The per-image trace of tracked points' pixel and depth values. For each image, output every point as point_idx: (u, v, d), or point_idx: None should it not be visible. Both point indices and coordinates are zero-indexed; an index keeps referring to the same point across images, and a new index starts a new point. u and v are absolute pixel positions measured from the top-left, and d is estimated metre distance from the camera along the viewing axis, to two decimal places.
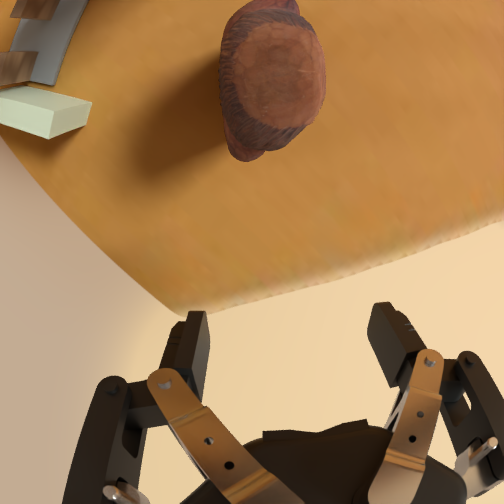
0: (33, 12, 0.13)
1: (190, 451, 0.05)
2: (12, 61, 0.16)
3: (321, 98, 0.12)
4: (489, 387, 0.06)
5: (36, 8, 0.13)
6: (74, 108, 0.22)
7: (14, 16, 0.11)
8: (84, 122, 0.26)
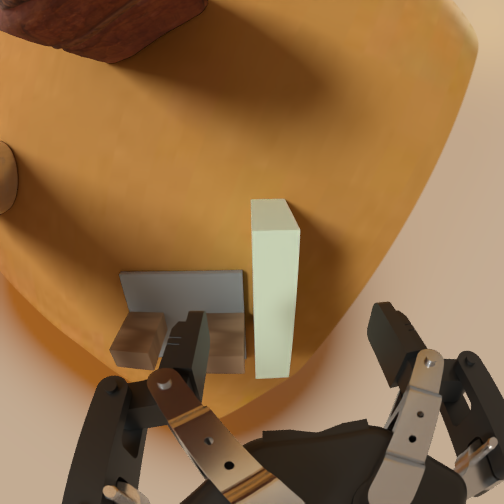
0: (146, 338, 0.25)
1: (190, 451, 0.05)
2: (211, 344, 0.24)
3: None
4: (489, 387, 0.06)
5: (141, 336, 0.25)
6: (255, 212, 0.21)
7: (151, 363, 0.24)
8: (280, 200, 0.24)
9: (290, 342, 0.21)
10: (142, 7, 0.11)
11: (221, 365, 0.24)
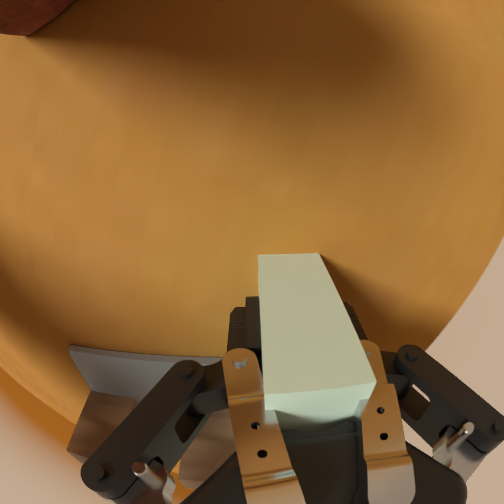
0: None
1: (233, 429, 0.06)
2: (199, 461, 0.14)
3: None
4: (443, 375, 0.07)
5: (105, 436, 0.14)
6: (268, 303, 0.10)
7: None
8: (312, 259, 0.13)
9: None
10: None
11: None
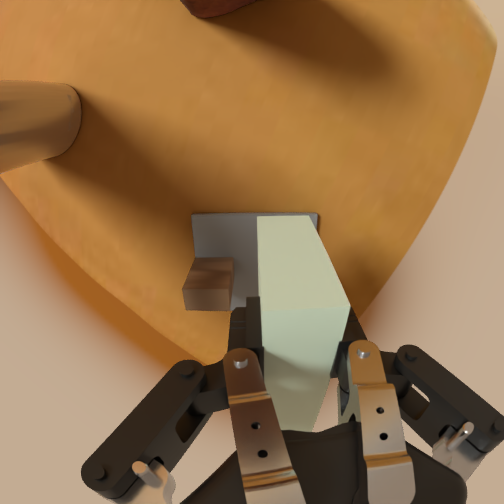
0: (222, 277, 0.26)
1: (234, 429, 0.06)
2: None
3: None
4: (442, 375, 0.07)
5: (216, 276, 0.27)
6: (265, 250, 0.12)
7: None
8: (303, 219, 0.15)
9: (311, 425, 0.14)
10: None
11: None
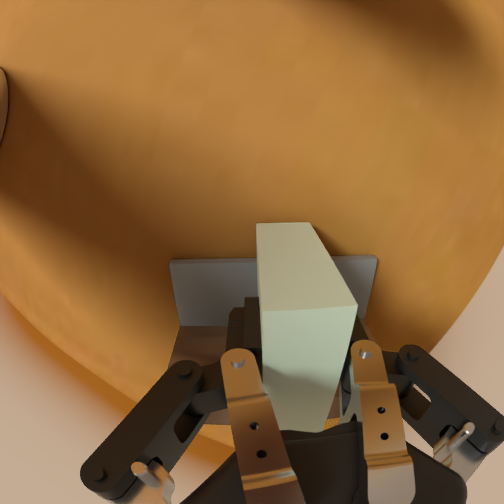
0: None
1: (232, 429, 0.06)
2: None
3: None
4: (444, 375, 0.07)
5: None
6: (265, 253, 0.12)
7: None
8: (303, 226, 0.15)
9: None
10: None
11: None
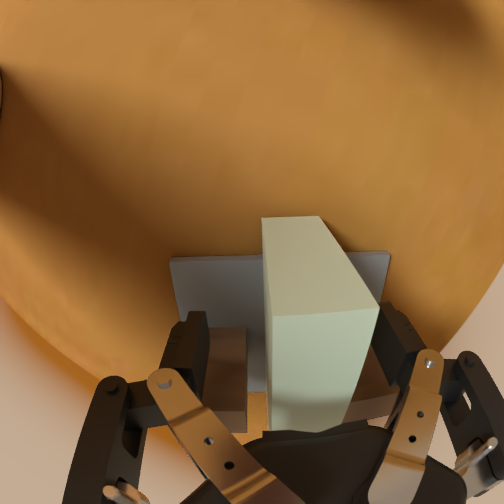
0: (231, 378, 0.13)
1: (190, 451, 0.05)
2: None
3: None
4: (489, 387, 0.06)
5: (220, 375, 0.14)
6: (272, 250, 0.11)
7: None
8: (313, 220, 0.14)
9: None
10: None
11: (372, 409, 0.12)
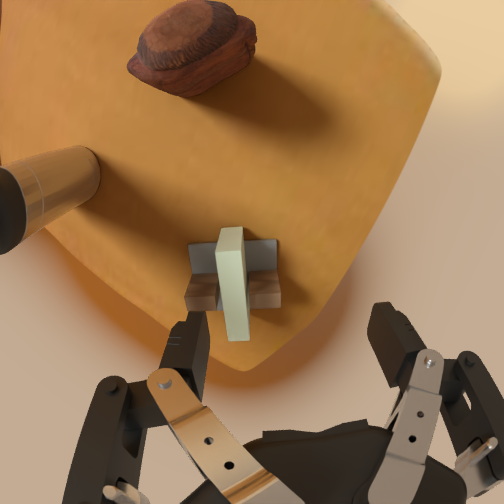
0: (211, 287, 0.39)
1: (190, 451, 0.05)
2: (258, 288, 0.38)
3: (180, 2, 0.14)
4: (489, 387, 0.06)
5: (207, 287, 0.39)
6: (220, 238, 0.36)
7: None
8: (239, 228, 0.39)
9: (246, 315, 0.36)
10: (220, 70, 0.25)
11: (265, 301, 0.37)
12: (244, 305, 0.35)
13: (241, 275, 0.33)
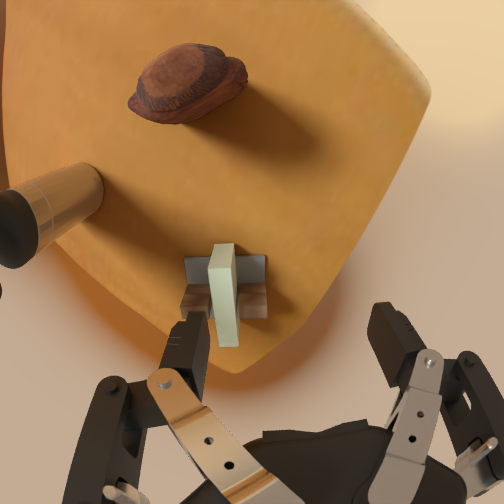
0: (204, 298, 0.42)
1: (190, 451, 0.05)
2: (247, 300, 0.42)
3: (174, 46, 0.18)
4: (489, 387, 0.06)
5: (200, 297, 0.42)
6: (213, 255, 0.39)
7: (207, 314, 0.41)
8: (230, 245, 0.42)
9: (235, 325, 0.40)
10: (213, 102, 0.28)
11: (253, 312, 0.41)
12: (233, 315, 0.39)
13: (231, 289, 0.37)
